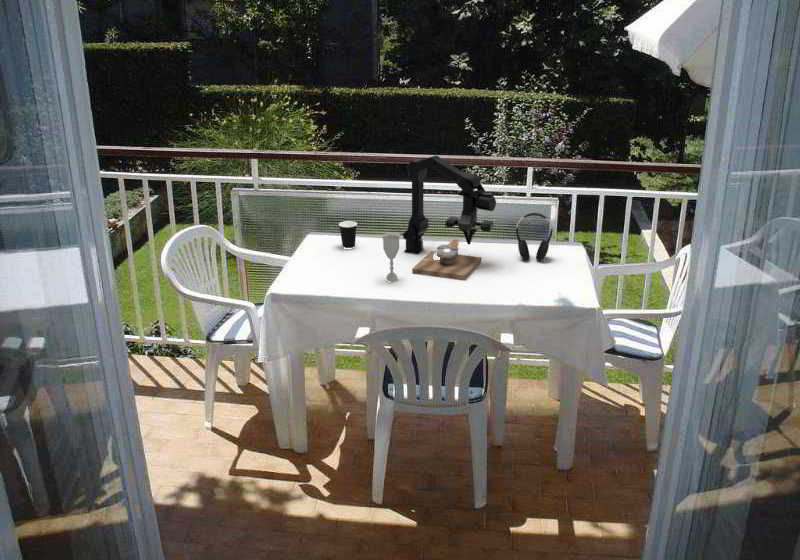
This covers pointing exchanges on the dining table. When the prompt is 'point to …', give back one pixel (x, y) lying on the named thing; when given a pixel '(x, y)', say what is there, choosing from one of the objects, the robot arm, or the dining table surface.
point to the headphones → (542, 248)
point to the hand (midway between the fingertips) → (469, 244)
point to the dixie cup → (348, 233)
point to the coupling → (448, 250)
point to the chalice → (391, 251)
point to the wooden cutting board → (447, 266)
